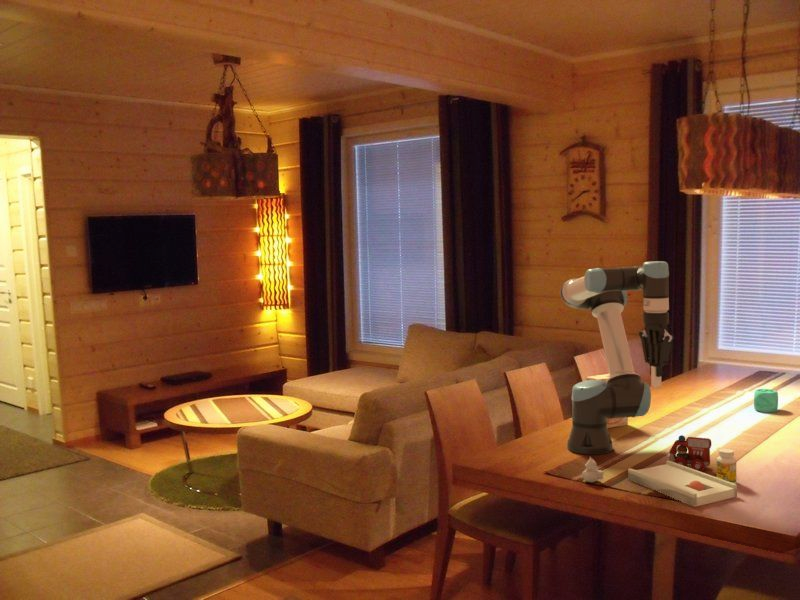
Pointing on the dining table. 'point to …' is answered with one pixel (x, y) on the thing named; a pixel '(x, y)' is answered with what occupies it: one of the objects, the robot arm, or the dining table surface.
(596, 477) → the white figurine
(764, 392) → the decorative dice
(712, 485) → the board
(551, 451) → the dining table surface
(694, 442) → the toy fire truck
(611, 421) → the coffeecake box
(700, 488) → the ball
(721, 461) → the supplement bottle
